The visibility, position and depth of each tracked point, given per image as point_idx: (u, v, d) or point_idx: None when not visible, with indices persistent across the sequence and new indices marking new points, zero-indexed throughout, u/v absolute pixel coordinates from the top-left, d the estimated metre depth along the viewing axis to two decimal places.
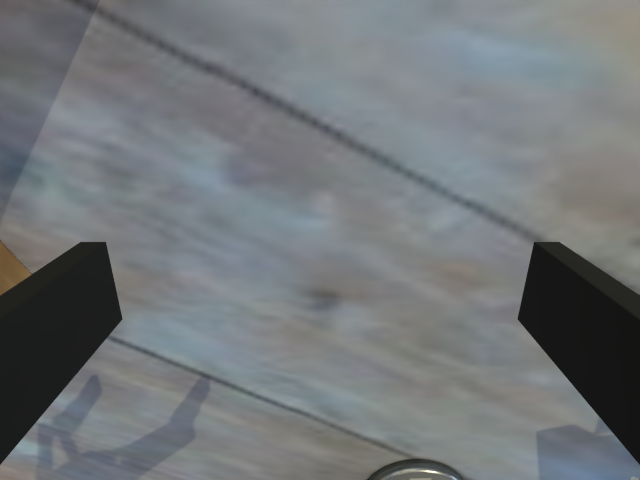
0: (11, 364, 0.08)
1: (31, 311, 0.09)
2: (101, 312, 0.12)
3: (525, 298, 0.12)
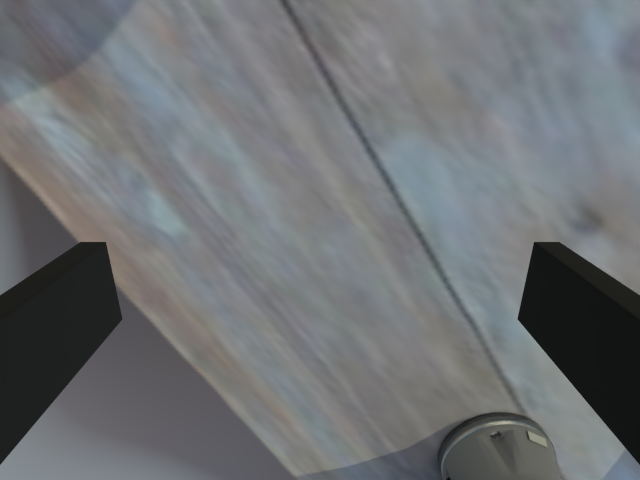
0: (11, 364, 0.08)
1: (31, 311, 0.09)
2: (101, 312, 0.12)
3: (524, 298, 0.12)
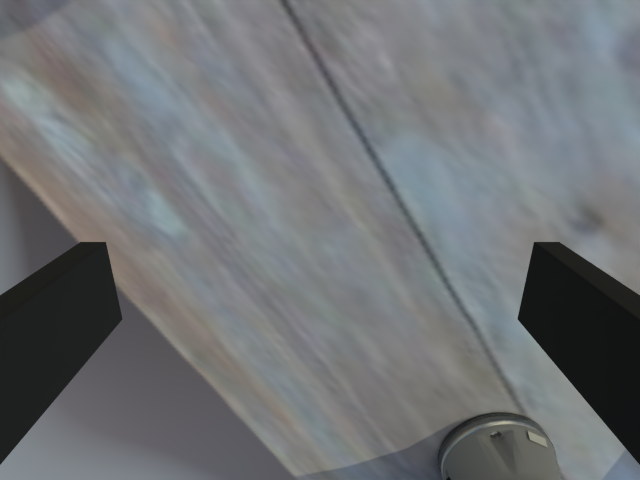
0: (11, 364, 0.08)
1: (31, 311, 0.09)
2: (101, 312, 0.12)
3: (524, 298, 0.12)
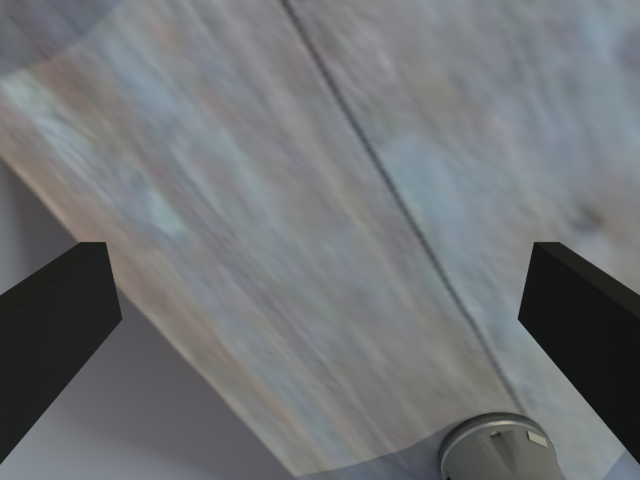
0: (11, 364, 0.08)
1: (31, 311, 0.09)
2: (101, 312, 0.12)
3: (524, 298, 0.12)
